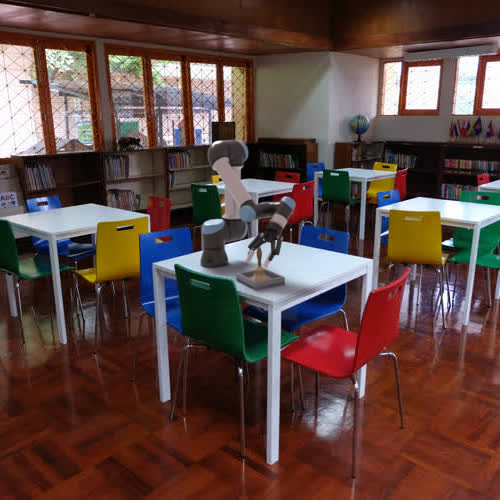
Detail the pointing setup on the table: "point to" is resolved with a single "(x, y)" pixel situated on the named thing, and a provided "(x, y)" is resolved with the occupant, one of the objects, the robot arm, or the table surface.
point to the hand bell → (259, 268)
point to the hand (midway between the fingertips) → (255, 264)
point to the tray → (272, 281)
